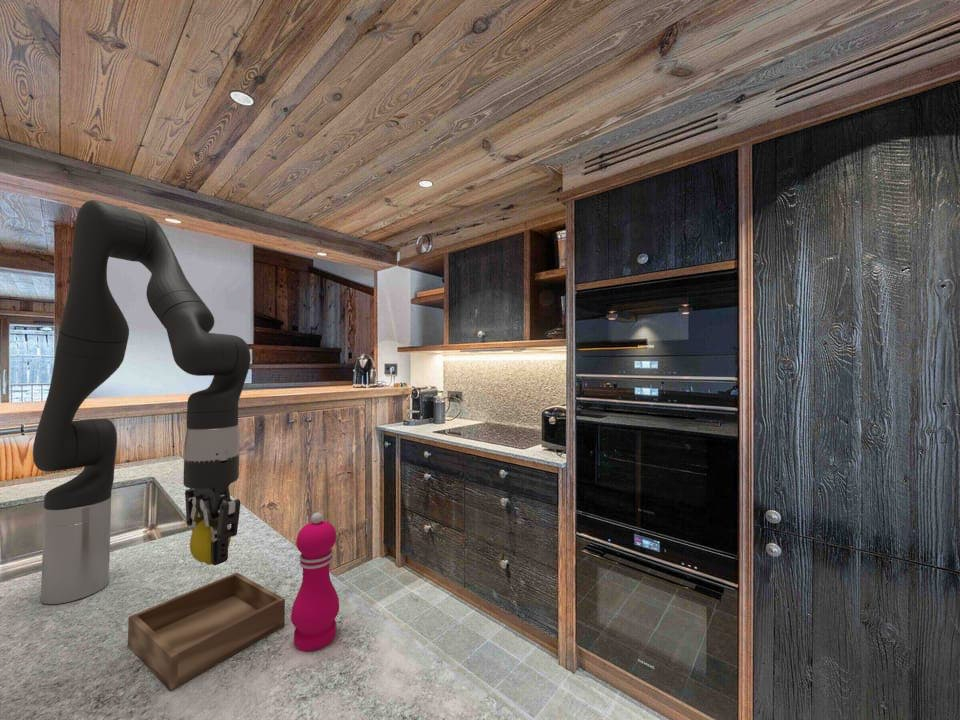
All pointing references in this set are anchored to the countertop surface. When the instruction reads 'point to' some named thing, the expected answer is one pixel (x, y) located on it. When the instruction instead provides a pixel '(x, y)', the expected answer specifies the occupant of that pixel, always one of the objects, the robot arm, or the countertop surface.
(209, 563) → the lemon
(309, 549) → the pepper mill
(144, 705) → the countertop surface
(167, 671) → the tray
